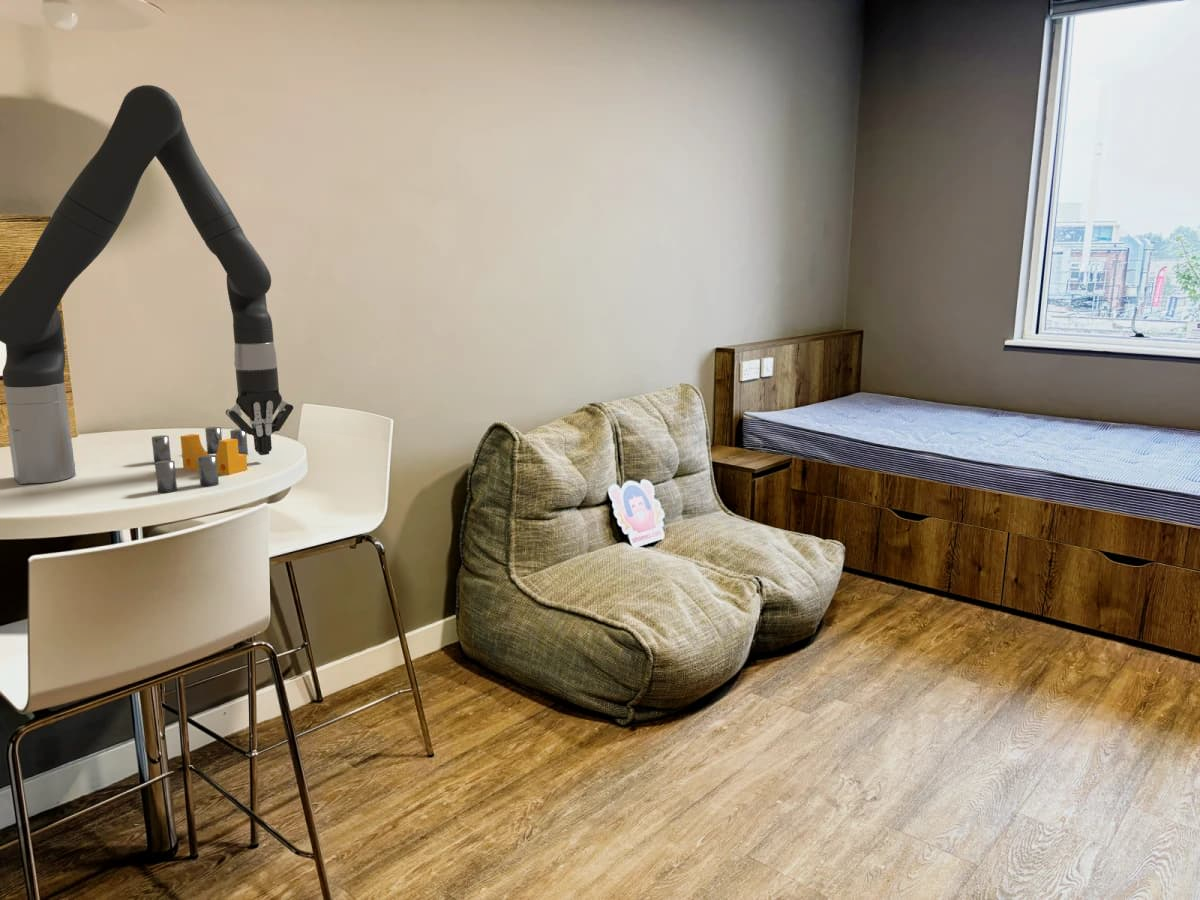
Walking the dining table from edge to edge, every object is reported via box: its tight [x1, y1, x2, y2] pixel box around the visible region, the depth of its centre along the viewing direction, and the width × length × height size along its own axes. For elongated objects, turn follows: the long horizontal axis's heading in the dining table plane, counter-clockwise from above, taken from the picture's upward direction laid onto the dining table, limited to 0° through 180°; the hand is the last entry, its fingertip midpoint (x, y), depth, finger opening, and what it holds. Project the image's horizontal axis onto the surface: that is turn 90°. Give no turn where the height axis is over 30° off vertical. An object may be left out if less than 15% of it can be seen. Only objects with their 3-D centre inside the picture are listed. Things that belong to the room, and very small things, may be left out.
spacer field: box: [151, 426, 249, 494], centre depth 171 cm, size 23×31×5 cm
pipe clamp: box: [179, 433, 248, 476], centre depth 171 cm, size 12×4×6 cm, turn 64°
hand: (263, 454), depth 177 cm, fingers closed
